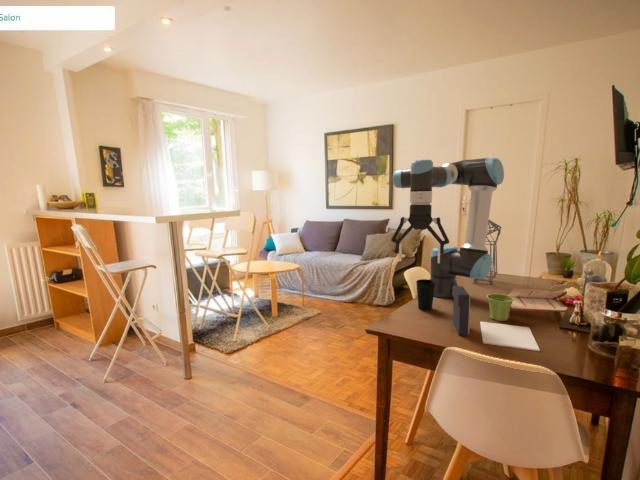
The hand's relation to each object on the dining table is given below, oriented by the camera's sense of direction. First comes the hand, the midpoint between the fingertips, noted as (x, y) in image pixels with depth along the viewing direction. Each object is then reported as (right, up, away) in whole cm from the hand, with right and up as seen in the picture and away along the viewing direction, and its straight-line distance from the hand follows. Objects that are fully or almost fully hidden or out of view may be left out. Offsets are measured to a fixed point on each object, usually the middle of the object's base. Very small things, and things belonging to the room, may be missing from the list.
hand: (419, 261), depth 121 cm
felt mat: (+29, -25, -7) cm, 39 cm away
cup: (+9, -22, +21) cm, 31 cm away
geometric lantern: (+52, -15, +57) cm, 79 cm away
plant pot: (+34, -23, +8) cm, 42 cm away
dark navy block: (+15, -25, -1) cm, 29 cm away
